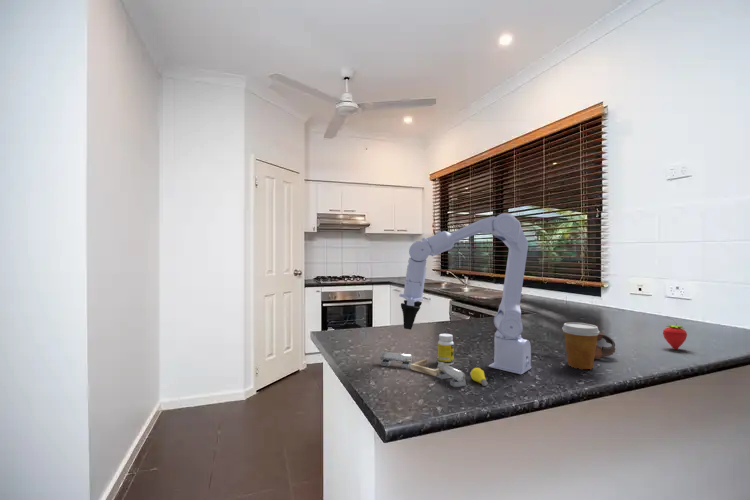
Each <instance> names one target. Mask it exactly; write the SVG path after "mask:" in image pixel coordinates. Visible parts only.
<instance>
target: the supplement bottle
mask: <svg viewBox="0 0 750 500" xmlns="http://www.w3.org/2000/svg"><path fill="white" fill-rule="evenodd" d="M453 337H454V336H453V334H451V333H440V334H439V335H438V339H439V340H438V341H437V363H438V364H439V363H440V362H443V363H445V364H447V365H449V366H452V365H454V363H455V358H454V357H455V342H454V341H453V340H454V338H453Z"/></svg>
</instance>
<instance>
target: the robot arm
mask: <svg viewBox="0 0 750 500" xmlns="http://www.w3.org/2000/svg"><path fill="white" fill-rule="evenodd" d="M521 225H522V224H521V221H520V220H518V219H517V218H516V217H515V215H512V214H511V213H508V212H504V213H500V214H498V215H496V216H495V215H493V216H489V217H485V218H482V219H479V220H477V221H475V222H473V223H469V224H468V225H466V226H464V227H461V228H458V229H456V230H455V231H452V232H450V231H449V232H448V231H446V230H439V231H436V233H435V234H433V235H431V236H428V237H427V238H425V237H422V238H421V240H418V241H415V242H414V243H412V244H411V245H410V246H409V248H408V249H409V250H408V253H409V258H408V263H407V268H406V274H405V282H404V289H403V293H399V294H398V295H399V297H400V298H403V299H404V300H403V302H402V303H400V308H401V311H402V317H403V318H402V319H403V320H402V321H403V328H404V330H410V331H411V330H412V328H413V326H414V323H415V321H416V316H417V314H418V313H419V311H420V310H421V306H422V305H423V302H422V301H423V300H424V298H423V295H424V289H425V281H426V275H427V259H428V257H429V256H431V257H435V256H437V255H440V254H442V253H444V252H447V251H450V250H452V249H453V247H454V245H455V243H457V242H459V241H462V240H465V239H467V238H470V237H473V236H475V235H478V234H483V235H484V234H485V235H490V234H491V235H492V236H494V237H495V238H497V239H499V240H500V241H502V243H504V245H505V246H506V247H507V248H508V253H507V261H506V268H505V276H504V281H503V282H504V283H503V289H502V294H501V295H502V296H501V302H500V304H499V305H498V310H497V313H496V314H495V315H494V317H493V324H494V326H495V328H496V330H495V331H496V332H494V337H493V338H494V344H493V345H494V348H493V349H494V350H493V351H494V352H493V353H494V355H493V357H494V361H493V362H492V363H490V364H489V365H488V368H492V369H495V370H500V371H501V370H502V371H506V372H509V373H514V374H517V375H523V374H524V373H526V372H528V371H529V370H530V369H532V366H531V365H532V362H531V361H532V358H531V357H532V354H531V353H532V351H531V350H532V349H531V348H532V347H531V342H530V340H529V339H524V338H523V337H522V333H523V328H524V324H523V322H522V310H521V297H522V290H523V285H524V284H523V283H524V277H525V270H526V263H527V256H528V249H529V241H528V239H527V237H526V235H525V233H524V231H523V228H522V226H521Z"/></svg>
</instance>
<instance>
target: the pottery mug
mask: <svg viewBox="0 0 750 500" xmlns="http://www.w3.org/2000/svg"><path fill="white" fill-rule="evenodd" d="M602 340H604V341H605V343H607V344H610V345H611V346H607V347H606V346H599V344H598V343H596V350H595V357H594V359H596V360H600V359H601V358H605V357H609V356H613V355H614V354H615V352H616V343H615V341H614V340H613V339H612V337H610V336H608V335H606V334H603V333H601V332H600V333H599V334H598V336H597V342H598V341H602Z"/></svg>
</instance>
